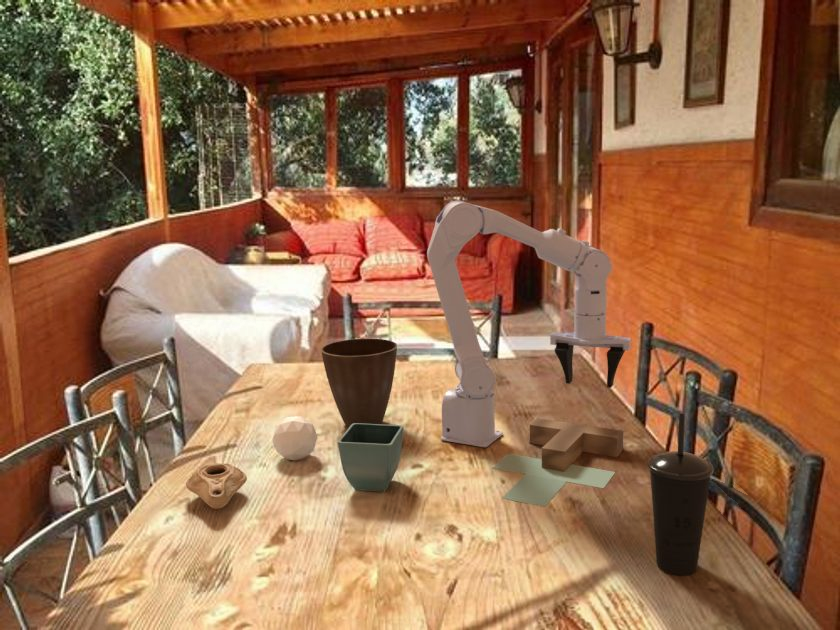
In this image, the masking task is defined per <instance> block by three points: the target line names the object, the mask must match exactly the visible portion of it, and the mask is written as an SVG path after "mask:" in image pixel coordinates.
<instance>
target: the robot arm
mask: <svg viewBox="0 0 840 630" xmlns="http://www.w3.org/2000/svg"><path fill="white" fill-rule="evenodd" d="M479 233H480V234H481V235H490V234H494V233H497V234H501V235H503V236H505V237H508V238H510V239H513V240H515V241H517V242H519V243H522V244H524V245H527V246H530V247H532V248H534V250H535V253H536V255H537V258H538V259H541V260H543V261H545V262H547V263H549V264H551V265H554V266H556V267H559V268H561V269H563V270H564V271H565V270H566V271H567V272H572V273H574V276H575V278H574V280H575V281H574V283H575V284H574V285H575V287H574V319H573V321H574V327H573V329H574V331H573V332H552V333H551V334H550V335H549V338H550V339H549V340H550V341H549V342H550V345H553V346H555V348H554V353H555V355H556V357H557V358H558V360H559V362H560V366H561V367H562V370H563V374H564V378H565V383H566V384H567V385H570V384H571V383H572V382H573V376H574V375H573V359H574V358H573V356H574V349H575V348H574V347H575V346H576V347H577V346H578V347H587V348H590V347H591V348H603V349H604V348H605V349H609V350H607V351H606V360H607V378H606V388H610V389H611V388H612V387H613V386H614V380H615V377H616V373H617V370H618V367H619V364H620V362H621V360H622V358H623V355H624V353H625V351H630V350H631V348H632V347H631V346H632V337H624V336H618V335H612V334H611V335H610V334H607V305H608V304H607V296H608V291H607V290H608V287H607V286H608V284H607V283H608V282H607V281H608V277H609V276H610V274H611V273H612V270H613V264H612V263H611V259H610V256H609V255H608V254H607V253H606V252H605V251H603V250H601V249H598V248H596V247H594V246H593V247H592V245H590V242H589V241H587V240H583V239H582V241H580V240H578V239H577V238H573V237H571V236H570V235H567V234H566V233H567V231H566V230H565V229H561V228H557V229H554V228H550V229H548V230H544V231H540V230H538V229H535V228H533V227H532V226H529V225H527V224H526V223H523V222H521V221H519V220H517V219H515V218H513V217H511V216H508V215H506V214H504V213H502V212H500V211H498V210H495V209H491V208H488V207H483V206H480V205H477V204H472V203H470V202H467V201H464V200H461V199H459V200H458V199H457V200H452V201H450V202H449V203H447V204H446V205H445V206H444V207H443V208H442V210H441V211H440V213H438V216H437V217H436V219H435V222H434V228H433V230H432V234H431V237H430V241H429V243H428V247H427V251H426V256H427V257H426V258H427V261H428V264H429V267H430V270H431V274H432V278H433V281H434V284H435V287H436V291H437V295H438V297H439V302H440V304H441V308H442V311H443V314H444V318H445V322H446V325H447V327H448V328H447V329H448V332H449V336H450V338H451V341H452V345H453V352H454V355H455V365H454V372H455V375H456V377H457V379H458V380H459V383H458V384H457V386H456V387H455V389H448V390H447V391H446V393H445V394H444V395H443V399H442V402H441V424H442V425H441V429H442V432H441V434H442V436H441V437H440V440H441V441H444V442H452V443H457V444H463V445H469V446H473V447H474V446H475V447H480V448H488V447H489V446H490V445H492V444H493V443H494V442H496V441H497V440H498V438H499V439H500V437H501V436H503V434H504V432H503V431H501V430H496V421H495V418H496V417H495V413H496V412H495V388H494V387H495V386H496V385H495V384H496V374H495V372H494V370H493V369H492V368H491V367H490V366H489V364H488V362H487V360H486V357H485V355H484V353H483V351H482V348H481V345H480V342H479V339H478V336H477V332H476V329H475V326H474V322H473V318H472V315H471V312H470V308H469V305H468V301H467V297H466V293H465V290H464V286H463V284H462V279H461V276H460V274H459V273H460V272H459V270H458V266H457V263H456V259H457V257H458V256H459V254H460V252H461V251H462V249H463V247H464V246H465V245H466V244H467V243H468V242H469V241H471V240H472V239H473V238H474V237H475V236H477V235H478V234H479Z"/></svg>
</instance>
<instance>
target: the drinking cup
mask: <svg viewBox="0 0 840 630" xmlns="http://www.w3.org/2000/svg"><path fill="white" fill-rule="evenodd" d="M685 419H686V414H684V413H679V414H678V432H677V433H678V435H677V436H678V437H677V438H678V439H677V450H676V451H667V452H662V453H661V452H660V453H657V454H654V455H652V456H651V457H649V458H648V460H647V468H648V469H649V471H650V473H649V474H650V475H649V476H650V486H651V488H650V489H651V501H652V514H653V515H652V519H653V529H654V530H653V531H654V544H655V546H654V547H655V559H656V565H657V567H658V569H660V571H663V572H664V573H667V574H668V575H673V576H681V577H682V576H689V575H692V574H695V572H696V571H697V569H698V564H699V563H698V562H699V556H700V551H701V543H702V536H703V529H704V522H705V517H706V516H705V514H706V510H707V501H708V495H709V489H710V481H711V476H712V475H713V474H714V466H713V464H712V463H711V462H710V461H709V460H707V459H706V458H703V457H701V456H698V455H696V454H693V453H691V452H690V453H689V452H687V451H684V450H685V449H684V447H685V427H686V426H685V423H686V422H685V421H686V420H685Z"/></svg>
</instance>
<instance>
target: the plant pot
mask: <svg viewBox="0 0 840 630" xmlns="http://www.w3.org/2000/svg"><path fill="white" fill-rule="evenodd" d="M397 349H398V343H396V342H394V341H392V340H390V339H389V340H388V339H385V338H371V337H370V338H352V339H344V340H338V341H333V342H331V343H328V344H327V343H326V344H325V345H323V346H322V347H321V349H320V352H321V357H322V361H323V365H324V366H323V367H324V371H325V374H326V378H327V381H328V384H329V388H330V391H331V394H332V397H333V399H334V403H335V405H336V408H337V410H338V412H339V415H340V417H341V419H342V422H343V423H344V425H345V427H346V428H347V429H348V428H349V427H350V426H351V425H352V424H353V423H364V424H382V425H383V421H384V418H385V415H386V411H387V408H388V404H389V402H390V401H389V400H390V398H391V397H390V396H391V393H392V388H393V383H394V377H395V370H396V363H397V362H396V361H397V352H398V350H397Z"/></svg>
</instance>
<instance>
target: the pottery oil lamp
mask: <svg viewBox="0 0 840 630" xmlns="http://www.w3.org/2000/svg"><path fill="white" fill-rule="evenodd" d="M247 476H248V475H246V473H245V472H243V471H242V470H241V469H240V468H239V467H236V466H234V465H232V464H231V463H228V462H227V463H226V462H225V463H223V462H222V463H220V462H219V463H217V462H213V463H211V462H210V463H208V464H206V465H204V466H201V467H199V469H197V470H196V471H195V472H193V473H192V474H191V476H190V477H189V478H188V479H187V481H186V482H185V486H186V488H187V490H188V491H190V492H192V493H194V494H195V495H197V496H198V497H200V498H201V500H202V501H203V502H204V503H205V504H207V505H208V506H209V507H210V508H211V509H214V510H218V509H222V508H224V507H225V506H226V505H228V503H229V502H230V501H231V499H232V497H233V496H234V495H235V493H237V492H238V491H239V490H240V489H241V488H242V486H244V484H246V482H247V480H248V477H247Z"/></svg>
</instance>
